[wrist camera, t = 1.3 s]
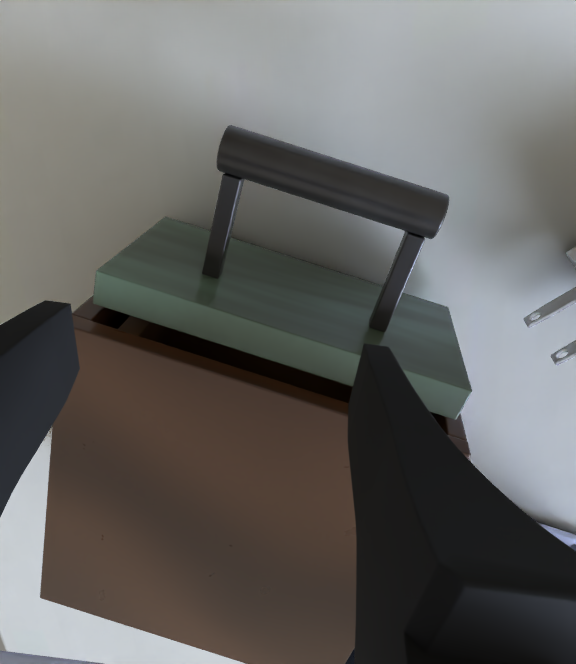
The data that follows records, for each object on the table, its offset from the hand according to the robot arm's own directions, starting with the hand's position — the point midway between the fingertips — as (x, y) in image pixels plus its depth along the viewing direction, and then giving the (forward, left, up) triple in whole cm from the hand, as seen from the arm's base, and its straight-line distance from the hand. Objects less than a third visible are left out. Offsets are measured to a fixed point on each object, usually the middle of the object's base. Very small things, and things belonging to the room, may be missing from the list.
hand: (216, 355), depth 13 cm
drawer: (-1, +5, -9) cm, 11 cm away
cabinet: (-1, +9, -10) cm, 14 cm away
